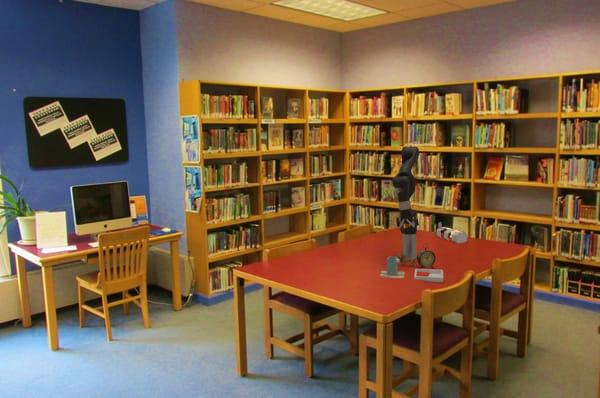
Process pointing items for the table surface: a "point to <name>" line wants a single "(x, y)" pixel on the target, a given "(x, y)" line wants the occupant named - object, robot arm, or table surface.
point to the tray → (430, 275)
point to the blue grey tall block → (392, 266)
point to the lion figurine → (405, 259)
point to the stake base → (399, 275)
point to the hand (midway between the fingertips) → (409, 233)
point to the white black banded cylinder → (452, 234)
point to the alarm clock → (426, 258)
